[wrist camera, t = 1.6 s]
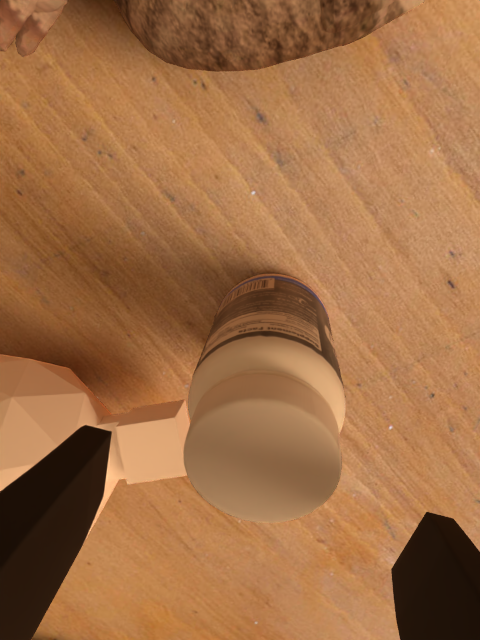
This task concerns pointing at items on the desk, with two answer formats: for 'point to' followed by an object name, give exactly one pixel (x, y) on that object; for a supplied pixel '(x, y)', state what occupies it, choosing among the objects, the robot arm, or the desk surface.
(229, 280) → the desk surface
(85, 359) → the desk surface
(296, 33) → the figurine
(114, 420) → the perfume bottle
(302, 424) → the pill bottle
